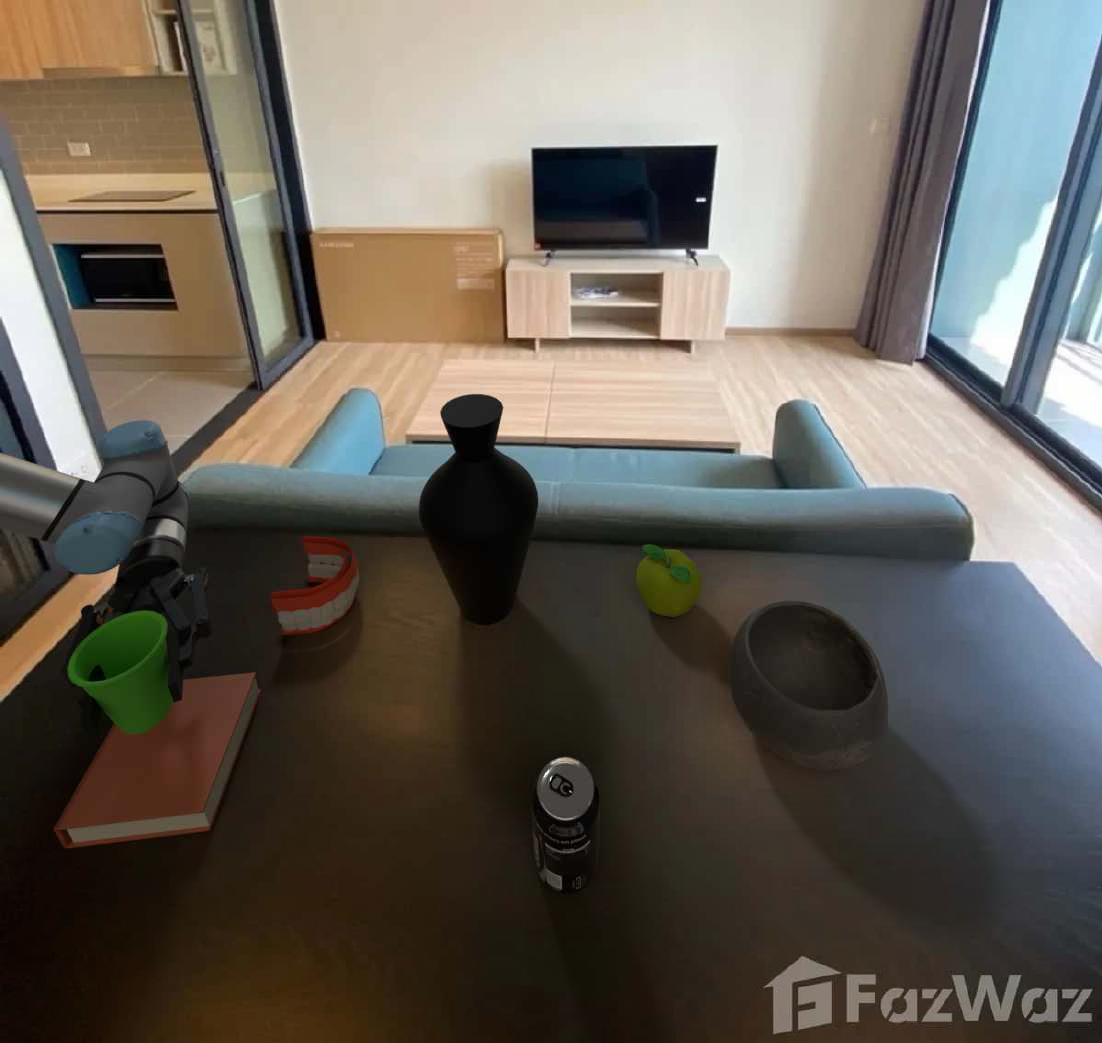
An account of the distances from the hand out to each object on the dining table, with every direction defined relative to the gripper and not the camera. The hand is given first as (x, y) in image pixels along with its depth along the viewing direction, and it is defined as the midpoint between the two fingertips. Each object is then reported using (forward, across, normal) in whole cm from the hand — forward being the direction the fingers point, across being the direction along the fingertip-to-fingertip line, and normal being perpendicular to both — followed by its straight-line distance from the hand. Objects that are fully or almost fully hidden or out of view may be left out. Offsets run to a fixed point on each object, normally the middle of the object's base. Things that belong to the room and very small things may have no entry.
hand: (132, 709), depth 62 cm
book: (-5, 0, -16) cm, 17 cm away
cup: (-5, +1, -7) cm, 8 cm away
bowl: (+28, -70, -16) cm, 77 cm away
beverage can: (+26, -38, -16) cm, 48 cm away
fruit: (+6, -66, -16) cm, 69 cm away
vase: (-8, -42, -16) cm, 46 cm away
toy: (-20, -20, -16) cm, 32 cm away
